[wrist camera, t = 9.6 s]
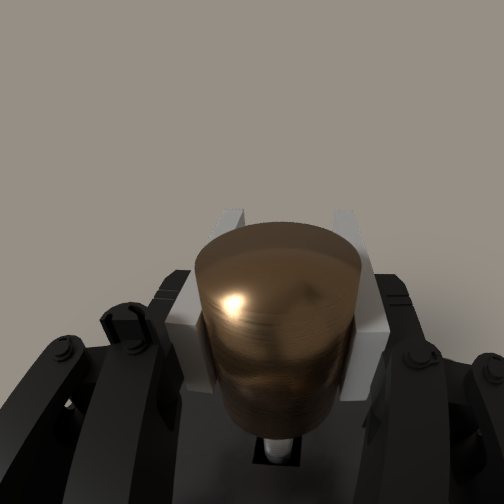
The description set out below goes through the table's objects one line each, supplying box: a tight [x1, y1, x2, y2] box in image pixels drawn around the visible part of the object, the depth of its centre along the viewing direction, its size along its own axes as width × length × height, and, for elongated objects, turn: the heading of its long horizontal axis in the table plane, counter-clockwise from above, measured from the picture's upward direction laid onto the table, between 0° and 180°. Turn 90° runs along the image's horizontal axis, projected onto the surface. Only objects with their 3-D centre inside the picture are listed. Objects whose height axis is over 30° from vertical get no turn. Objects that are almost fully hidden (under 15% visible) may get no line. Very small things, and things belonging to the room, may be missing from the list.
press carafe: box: [172, 379, 372, 504], centre depth 16 cm, size 13×10×16 cm
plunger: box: [194, 222, 362, 467], centre depth 12 cm, size 7×7×22 cm
